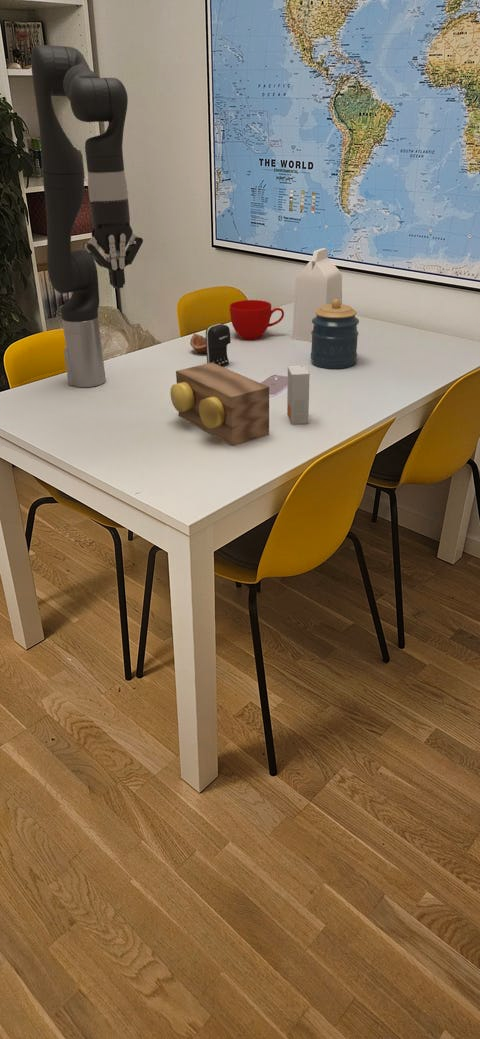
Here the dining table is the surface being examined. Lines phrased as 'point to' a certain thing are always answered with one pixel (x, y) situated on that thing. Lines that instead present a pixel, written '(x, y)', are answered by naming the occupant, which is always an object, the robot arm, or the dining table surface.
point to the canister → (334, 336)
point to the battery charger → (217, 344)
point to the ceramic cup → (252, 318)
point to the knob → (182, 397)
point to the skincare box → (298, 394)
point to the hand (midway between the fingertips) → (117, 287)
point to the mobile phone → (276, 384)
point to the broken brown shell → (198, 343)
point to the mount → (226, 403)
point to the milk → (314, 292)
